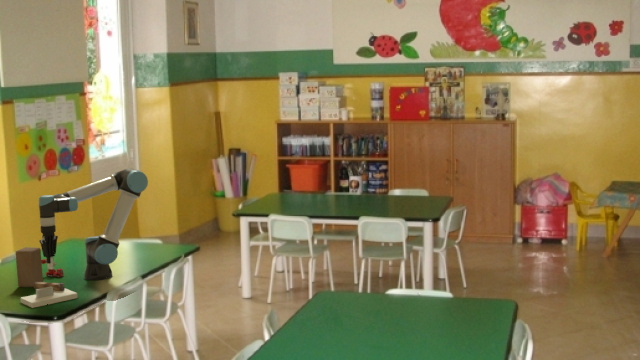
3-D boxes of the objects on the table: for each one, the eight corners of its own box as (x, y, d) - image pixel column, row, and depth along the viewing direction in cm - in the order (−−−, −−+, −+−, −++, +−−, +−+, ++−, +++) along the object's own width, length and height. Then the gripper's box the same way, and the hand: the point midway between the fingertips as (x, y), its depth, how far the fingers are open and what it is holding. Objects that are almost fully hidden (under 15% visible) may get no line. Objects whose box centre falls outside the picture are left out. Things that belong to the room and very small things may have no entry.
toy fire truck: (61, 277, 483) (59, 260, 482) (40, 276, 488) (39, 259, 486) (64, 276, 486) (63, 259, 485) (44, 274, 491) (43, 258, 489)
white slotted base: (65, 292, 450) (64, 280, 449) (77, 297, 439) (76, 285, 439) (20, 302, 434) (19, 289, 433) (32, 307, 424) (31, 295, 423)
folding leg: (65, 289, 446) (65, 283, 446) (62, 290, 444) (62, 284, 443) (38, 287, 452) (37, 281, 451) (34, 288, 449) (33, 282, 449)
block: (34, 287, 462) (31, 251, 460) (17, 287, 464) (14, 251, 462) (43, 282, 472) (41, 247, 469) (27, 282, 474) (24, 247, 471)
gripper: (49, 222, 458) (52, 265, 461) (34, 226, 446) (36, 271, 449) (61, 223, 456) (64, 266, 459) (46, 227, 443) (49, 272, 447)
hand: (50, 268), depth 454 cm, fingers closed
